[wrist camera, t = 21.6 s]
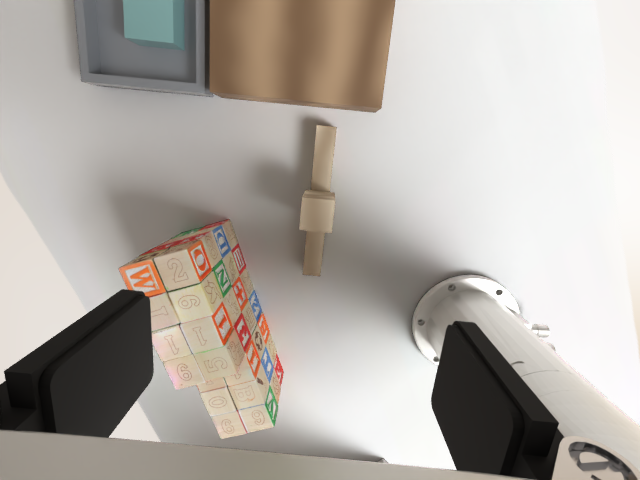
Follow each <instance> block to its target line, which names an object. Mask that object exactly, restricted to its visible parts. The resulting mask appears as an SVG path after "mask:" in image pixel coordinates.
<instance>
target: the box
mask: <svg viewBox="0 0 640 480" xmlns="http://www.w3.org/2000/svg"><path fill="white" fill-rule="evenodd" d="M74 6H75V17H76V28H77V38H78V49H79V60H80V71H81V81H82V82H85V83H89V84H93V85H97V86H104V87H115V88H125V89H136V90H146V91H156V92H167V93H177V94H188V95H198V96H209V97H213V93H211V92H210V0H184V41H185V51H183V50H174V49H165V48H157V47H148V46H139V45H137V44H136V43H134V42H132V41H130V40H128V39H126V38H125V34H124V11H123V0H74Z"/></svg>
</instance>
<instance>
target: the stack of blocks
mask: <svg viewBox="0 0 640 480" xmlns="http://www.w3.org/2000/svg"><path fill="white" fill-rule="evenodd" d="M119 271H120V273H121V275H122V277H123V280H124V282H125V284H126V286H127V288H128V290H135V291H143V292H144V294H145V296H148V297H149V299H150V307H151V328H152V343H153V345H154V348H155V350H156V351H157V353H158V356H159V358H160V360H161V361H163V365H164V367H165V369H166V371H167V373H168V375H169V377H170V379H171V381H172V383H173V385H174V387H175V389H176V390H178V389H182V388H186V387H190V386H194V385H197V388H198V390H199V392H200V396H201V398H202V400H203V403H204V405H205V407H206V409H207V412H208V414H209V416H210V417H211V418H212V421H213V423H214V425H215V427H216V430H217V432H218V434H219V436H220V438H221V439H225V438H229V437H234V436H239V435H244V434H247V433H248V432H255V431H259V430H263V429H268V428H272V427H274V426H275V421H276V416H277V411H278V401H279V395H280V390H281V383H282V378H283V373H284V372H283V369H282V366H281V364H280V361H279V358H278V356H277V351H276V348H275V345H274V342H273V340H272V337H271V334H270V332H269V328H268V325H267V322H266V320H265V317H264V314H263V312H262V311H261V307H260V305H259V302H258V299H257V296H256V293H255V291H254V289H253V285H252V283H251V280H250V277H249V274H248V272H247V269H246V264H245V261H244V258H243V256H242V253H241V250H240V247H239V244H238V241H237V238H236V235H235V232H234V229H233V227H232V224H231V221H230V219H228V220H224V221H221V222H217V223H214V224H210V225H207V226H205V227H201V228H198V229H194V230H190V231H187V232H183V233H180V234H178V235H177V236H175V237H173V238H171V239H170V240H168V241H166V242H164V243H163V244H161V245H159V246H157V247H155V248H153V249H151V250H149V251H147V252H145V253H144V254H142V255H140V256H139V257H138V258H136V259H134V260H132V261H131V262H129V263H127V264H125V265H123V266H122V267H120V268H119Z"/></svg>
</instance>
